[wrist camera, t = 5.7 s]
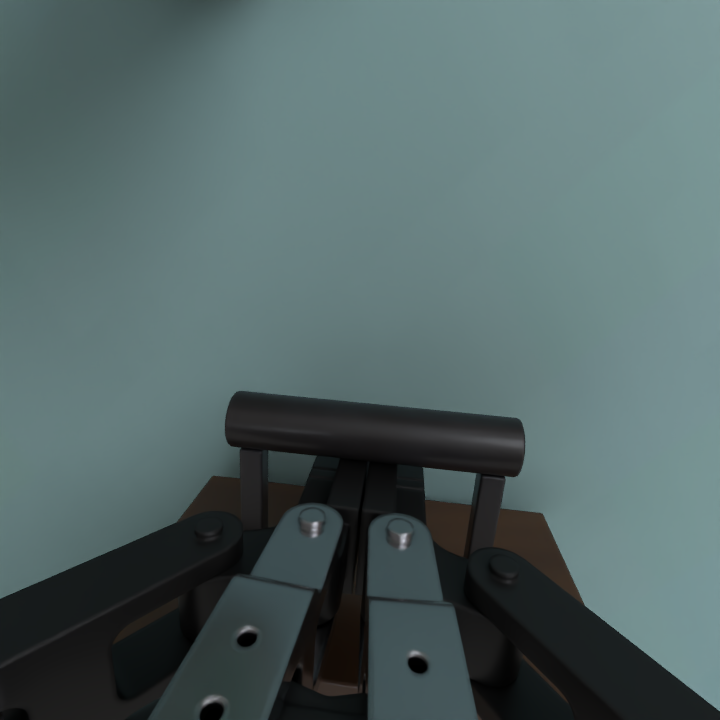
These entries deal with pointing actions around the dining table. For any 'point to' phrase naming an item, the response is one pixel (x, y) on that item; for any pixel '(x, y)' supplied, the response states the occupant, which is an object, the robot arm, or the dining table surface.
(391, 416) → the drawer
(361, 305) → the dining table surface
